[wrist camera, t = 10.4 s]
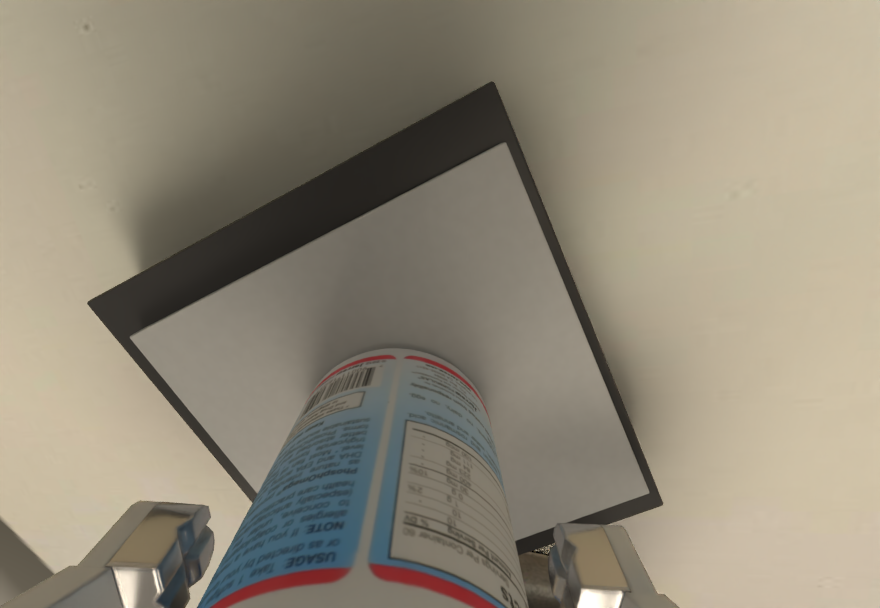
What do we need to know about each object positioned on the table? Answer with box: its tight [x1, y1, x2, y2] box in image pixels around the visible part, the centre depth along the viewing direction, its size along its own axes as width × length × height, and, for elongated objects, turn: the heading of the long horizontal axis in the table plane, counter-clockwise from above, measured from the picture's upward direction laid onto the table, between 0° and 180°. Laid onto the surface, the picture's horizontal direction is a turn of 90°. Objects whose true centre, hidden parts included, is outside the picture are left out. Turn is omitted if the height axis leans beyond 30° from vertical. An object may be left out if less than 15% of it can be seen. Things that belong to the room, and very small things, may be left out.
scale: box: [87, 82, 663, 556], centre depth 15 cm, size 16×14×3 cm
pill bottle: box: [197, 348, 529, 608], centre depth 8 cm, size 6×6×11 cm
